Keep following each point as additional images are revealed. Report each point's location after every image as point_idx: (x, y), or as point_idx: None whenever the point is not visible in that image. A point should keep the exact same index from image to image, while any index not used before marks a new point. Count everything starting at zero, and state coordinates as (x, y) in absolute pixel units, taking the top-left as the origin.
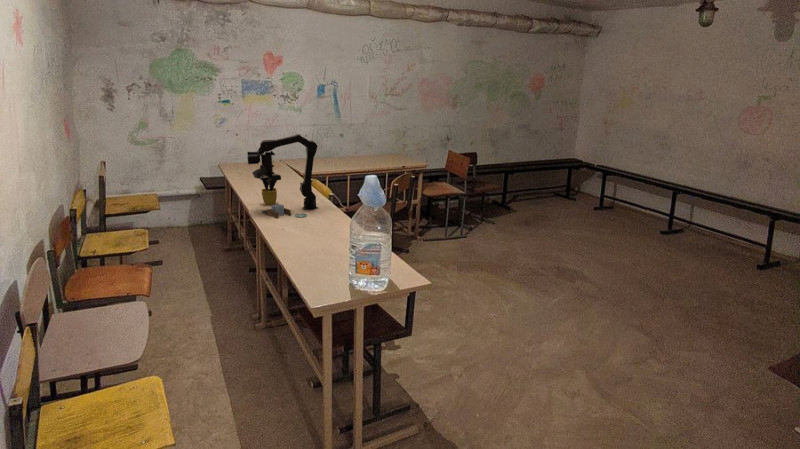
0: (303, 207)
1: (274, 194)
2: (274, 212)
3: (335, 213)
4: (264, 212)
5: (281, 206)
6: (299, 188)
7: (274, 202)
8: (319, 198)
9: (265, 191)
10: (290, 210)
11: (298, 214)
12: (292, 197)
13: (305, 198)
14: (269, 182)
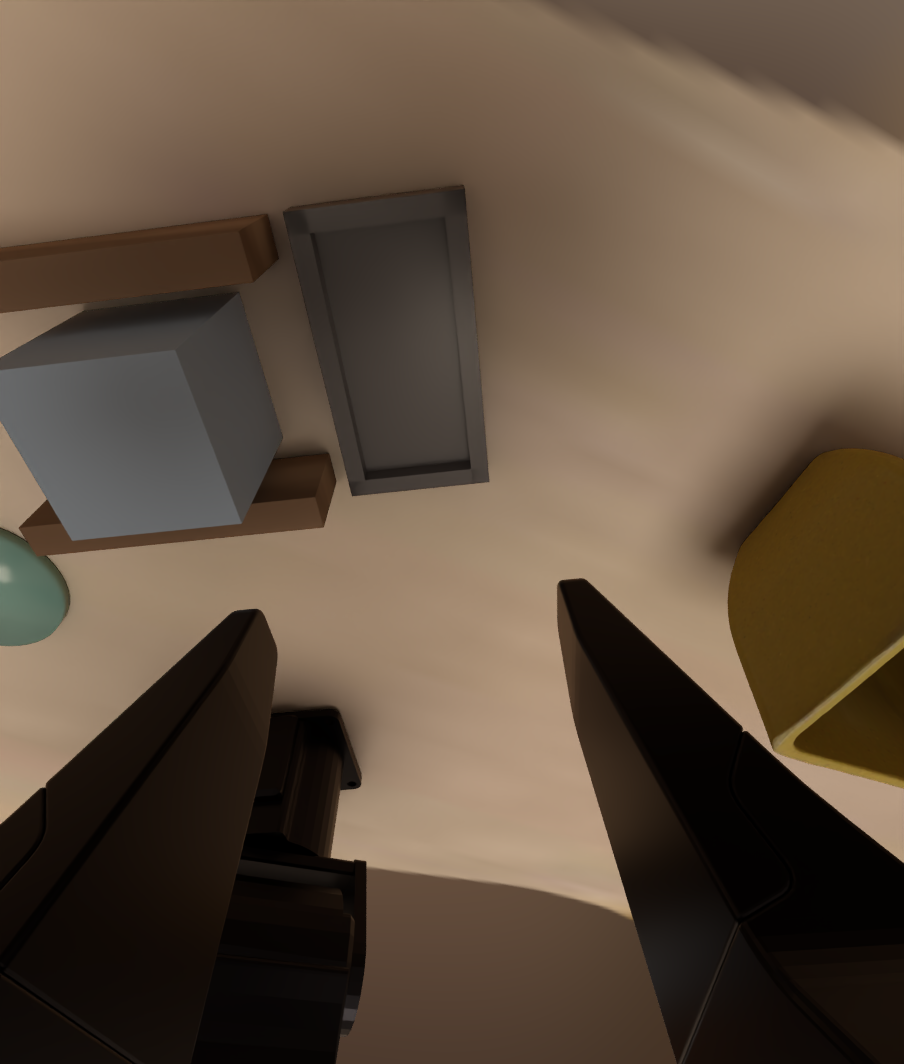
0: (333, 720)
1: (774, 671)
2: None
3: (3, 815)
4: (363, 201)
5: (50, 489)
6: (345, 981)
7: (737, 569)
8: (584, 883)
9: None
10: (38, 549)
11: (16, 580)
12: (830, 779)
13: (279, 842)
14: None
